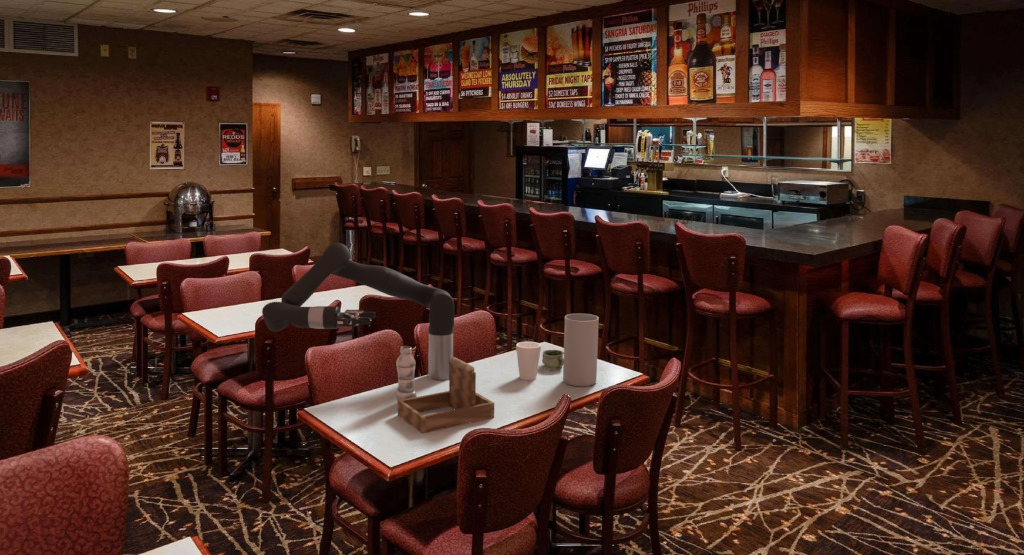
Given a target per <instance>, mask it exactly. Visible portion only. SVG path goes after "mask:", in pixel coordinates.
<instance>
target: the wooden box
mask: <svg viewBox="0 0 1024 555" xmlns="http://www.w3.org/2000/svg"><path fill="white" fill-rule="evenodd" d="M476 374H477V373H476V372H475V367H474V366H473V365H470V363H468V362H465V361H464V360H461V359H459V358H457V357H455V356H453V357H452V358H451V360H450V361H449V379H448V380H449V381H448V382H449V383H448V384H449V385H448V388H449V390H446V391H441V392H436V393H431V394H426V395H421V396H416V397H414V398H408V399H403V400H398V401H397V416H399V417H400V418H401V419H403V420H404V421H405V422H407V423H408V424H409V425H410V426H412V427H413V428H414V429H416V430H417V431H418V432H420V433H421V434H424V433H429V432H434V431H439V430H442V429H443V428H444V429H447V428H451V427H453V428H454V427H458V426H462V425H466V424H465V423H467V424H470V423H469V422H471V423H476V422H479V421H484V419H485V420H489V418H490V419H493V418H495V402H493V401H492V400H490V399H488V397H487V398H486V397H485V396H483V395H481V394H479V393H477V392H476V391H477V390H476V389H477V388H476V385H477V384H476V383H477V379H476V377H477V376H476ZM447 407H450V408H451V409H452V410H451V409H450V410H446V411H442V412H437V413H432V414H427V415H424V414H422V413H423V412H426V411H432V410H438V409H442V408H447ZM454 409H455V410H454ZM475 421H476V422H475ZM461 424H462V425H461ZM457 425H458V426H457Z"/></svg>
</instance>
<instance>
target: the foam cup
mask: <svg viewBox="0 0 1024 555" xmlns="http://www.w3.org/2000/svg"><path fill="white" fill-rule="evenodd" d="M515 352H516V357H517V365H518V374H519V375H518V376H519V379H520V378H521V379H520V380H522V379H524V380H523V381H535V380H536V379H537V375H538V369H539V368H538V367H539V363H540V355H541V352H542V344H541V343H539V342H535V341H520V342H518V343H516V346H515Z"/></svg>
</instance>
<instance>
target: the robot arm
mask: <svg viewBox="0 0 1024 555" xmlns="http://www.w3.org/2000/svg"><path fill="white" fill-rule="evenodd" d="M350 258H351V252H350V250H349V248H348V246H347V245H345V244H343V243H340V242H335V243H331V244H329V245H328V246H327V247H326V248H325V249H324V250H323V253H322V254H321V256H320V257H319V259H318V260H317V261H316V262H315V263H314V264H313V265H312V266H311V268H310V269H308V271H306V272H305V274H303V275H302V276H300V278H299V279H298V280H297V281H295V282H294V284H292V285H291V286H290V287H289V288H288V289H287V290H286V291H285V292H284V293H283V294H282V295H281V299H280V300H281V301H272V302H268V303H266V304H265V305H264V306H263V308H262V310H261V314H262V317H263V320H264V323H265V325H266V327H267V328H268V330H270V331H271V332H275V333H277V332H279V331H280V332H281V331H282V330H285V329H286V328H287V327H288V326H289V324H292V326H294V327H295V328H300V329H301V328H306V329H310V328H311V329H319V330H322V329H323V330H324V329H325V330H328V329H329V330H338V329H339V328H340V327H347V328H348V327H350V328H351V327H352V328H355V327H357V326H359V325H360V326H365V325H366V326H367V325H368V326H369V325H371V320H374V319H376V312H375V311H364V309H346V310H344V311H343V312H341V310H340V307H339V306H336V305H335V306H331V305H330V306H327V305H317V306H303V305H304V304H305V303H306V302H307V301H308V300H309V299H310V297H312V296H313V294H314V293H315V292H316V291H317V289H319V287H320V286H321V285H322V283H324V281H325V280H326V279H327V278H328V277H330V276H331V275H333V276H336V277H340V278H343V279H348V280H350V281H353V282H355V283H358V284H361V285H363V286H366V287H368V288H370V289H373V290H376V291H378V292H380V293H383V294H385V295H388V296H391V297H393V298H398V299H402V300H408V301H412V302H415V303H418V304H419V305H421V306H423V307H424V308H425V307H426V308H427V309H429V324H428V356H427V357H428V361H427V362H428V365H427V366H428V370H427V371H428V372H427V373H428V377H429V378H430V379H431V380H438V381H443V380H444V381H445V380H449V361H450V360H451V358H452V357H454V326H455V302H454V299H453V297H452V296H451V295H450V293H449V292H448V291H446V290H444V289H441V288H438V287H433V286H431V285H428V284H424V283H421V282H419V281H417V280H415V279H414V278H411V277H409V276H408V275H405V274H403V273H401V272H399V271H397V270H395V269H392V268H389V267H387V266H382V265H377V264H376V265H375V264H374V265H373V264H363V263H359V262H356V261H354V260H352V259H350Z"/></svg>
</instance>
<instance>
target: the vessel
mask: <svg viewBox="0 0 1024 555" xmlns="http://www.w3.org/2000/svg"><path fill="white" fill-rule="evenodd" d="M541 361H542V364H543V369H545V370H548V371H560V370H562V369H563V364H564V350H563V351H562V350H559V349H546V350H543V351H542V359H541Z"/></svg>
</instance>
